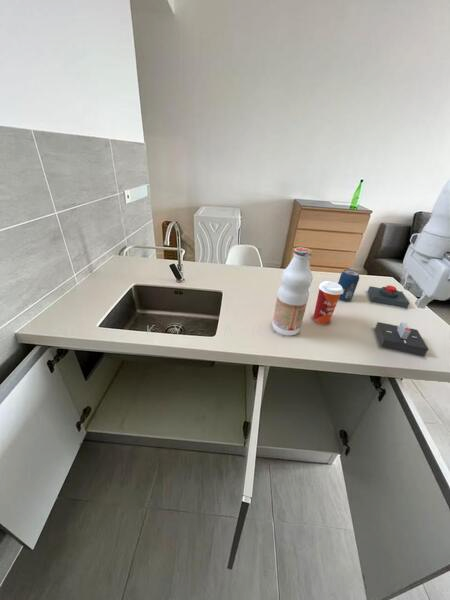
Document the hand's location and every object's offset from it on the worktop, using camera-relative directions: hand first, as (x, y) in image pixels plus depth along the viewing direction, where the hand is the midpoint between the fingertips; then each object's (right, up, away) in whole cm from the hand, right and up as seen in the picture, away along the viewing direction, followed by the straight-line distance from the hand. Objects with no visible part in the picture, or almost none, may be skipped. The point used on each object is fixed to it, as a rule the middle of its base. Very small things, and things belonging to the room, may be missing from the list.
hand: (412, 297), depth 63 cm
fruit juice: (-28, -10, +20) cm, 36 cm away
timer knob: (+8, -12, +15) cm, 21 cm away
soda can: (+1, 0, +40) cm, 40 cm away
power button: (+20, +3, +38) cm, 43 cm away
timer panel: (+8, -14, +17) cm, 23 cm away
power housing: (+20, -1, +41) cm, 45 cm away
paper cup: (-14, -8, +26) cm, 30 cm away
